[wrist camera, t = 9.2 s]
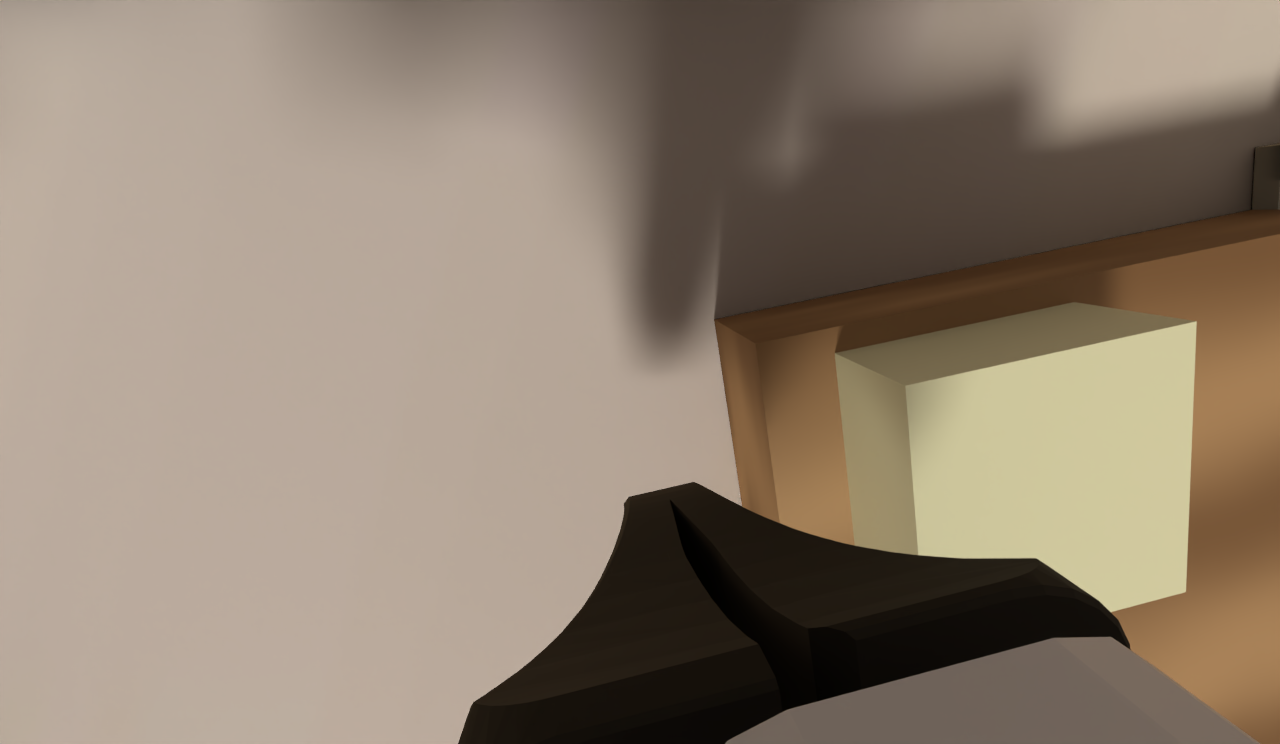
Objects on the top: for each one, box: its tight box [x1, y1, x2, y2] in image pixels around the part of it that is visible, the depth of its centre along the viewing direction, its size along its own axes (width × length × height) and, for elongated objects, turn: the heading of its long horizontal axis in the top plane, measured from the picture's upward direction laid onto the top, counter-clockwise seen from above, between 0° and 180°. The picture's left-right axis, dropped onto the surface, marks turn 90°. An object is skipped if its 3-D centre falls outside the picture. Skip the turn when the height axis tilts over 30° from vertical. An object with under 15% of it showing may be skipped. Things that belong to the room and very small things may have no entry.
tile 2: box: [835, 302, 1197, 612], centre depth 12 cm, size 5×5×2 cm
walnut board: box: [714, 209, 1280, 744], centre depth 16 cm, size 14×14×3 cm
